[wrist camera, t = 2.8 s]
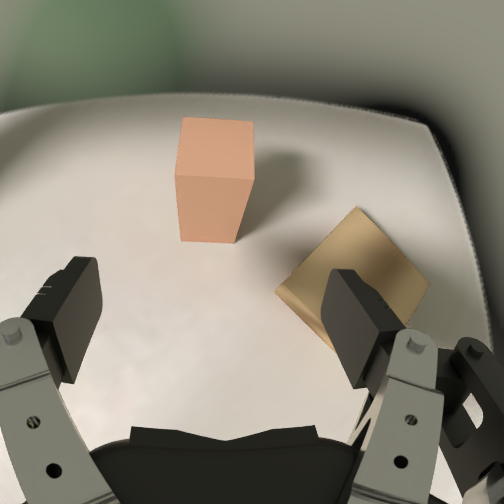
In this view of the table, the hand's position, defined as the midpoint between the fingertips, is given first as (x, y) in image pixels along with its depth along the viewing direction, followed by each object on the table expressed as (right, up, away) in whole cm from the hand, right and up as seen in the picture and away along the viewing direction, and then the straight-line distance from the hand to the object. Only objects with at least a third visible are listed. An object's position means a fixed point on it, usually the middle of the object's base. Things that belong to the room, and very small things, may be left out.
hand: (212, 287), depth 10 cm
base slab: (+9, -2, +14) cm, 17 cm away
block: (-2, +4, +14) cm, 15 cm away
